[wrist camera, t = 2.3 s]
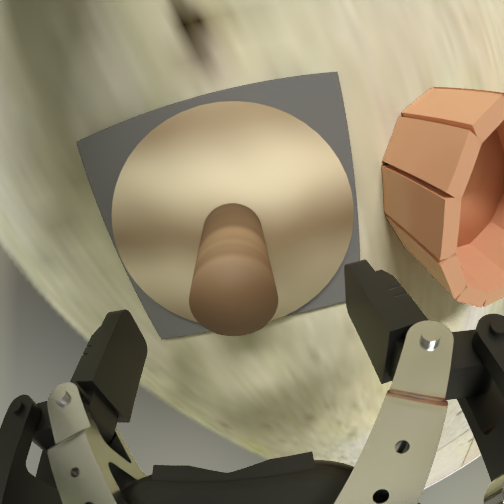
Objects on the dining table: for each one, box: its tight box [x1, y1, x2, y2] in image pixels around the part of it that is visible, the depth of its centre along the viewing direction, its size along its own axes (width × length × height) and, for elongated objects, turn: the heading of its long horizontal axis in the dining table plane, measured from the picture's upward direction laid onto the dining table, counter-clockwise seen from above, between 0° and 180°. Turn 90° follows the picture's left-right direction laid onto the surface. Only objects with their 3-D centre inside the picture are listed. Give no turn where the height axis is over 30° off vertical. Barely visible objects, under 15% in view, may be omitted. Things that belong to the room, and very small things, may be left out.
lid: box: [112, 101, 354, 336], centre depth 13 cm, size 13×13×7 cm
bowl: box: [382, 87, 504, 307], centre depth 13 cm, size 12×12×6 cm
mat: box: [76, 72, 360, 340], centre depth 16 cm, size 14×14×1 cm
